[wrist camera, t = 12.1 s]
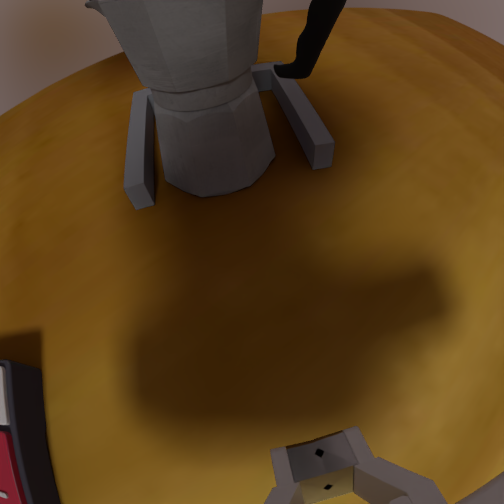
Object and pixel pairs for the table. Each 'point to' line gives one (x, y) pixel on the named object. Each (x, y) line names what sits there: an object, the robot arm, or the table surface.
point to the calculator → (23, 438)
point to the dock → (286, 91)
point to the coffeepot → (209, 82)
